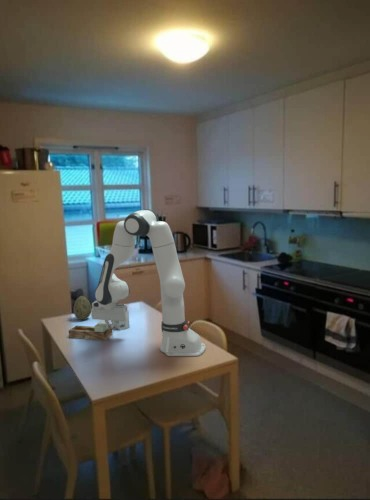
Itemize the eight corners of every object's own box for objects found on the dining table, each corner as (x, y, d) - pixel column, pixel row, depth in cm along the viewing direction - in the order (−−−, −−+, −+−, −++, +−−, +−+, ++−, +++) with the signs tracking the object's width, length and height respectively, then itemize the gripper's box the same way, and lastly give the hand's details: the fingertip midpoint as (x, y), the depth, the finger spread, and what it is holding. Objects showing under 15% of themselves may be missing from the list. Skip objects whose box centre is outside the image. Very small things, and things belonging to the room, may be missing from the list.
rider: (109, 331, 211) (108, 322, 210) (103, 335, 205) (102, 326, 204) (101, 330, 213) (100, 321, 212) (94, 335, 206) (94, 326, 205)
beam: (112, 334, 212) (112, 327, 211) (105, 340, 204) (105, 333, 203) (76, 332, 217) (76, 325, 217) (69, 337, 210) (68, 330, 209)
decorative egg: (84, 323, 232) (82, 299, 230) (70, 321, 237) (68, 297, 235) (95, 317, 242) (94, 294, 240) (82, 315, 247) (80, 293, 244)
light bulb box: (129, 328, 222) (128, 310, 220) (119, 330, 218) (118, 312, 216) (122, 323, 231) (121, 305, 229) (111, 325, 227) (110, 308, 225)
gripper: (129, 302, 205) (130, 326, 207) (94, 300, 210) (96, 324, 212) (124, 305, 199) (125, 331, 201) (89, 303, 204) (90, 328, 206)
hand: (110, 327), depth 207 cm, fingers closed
